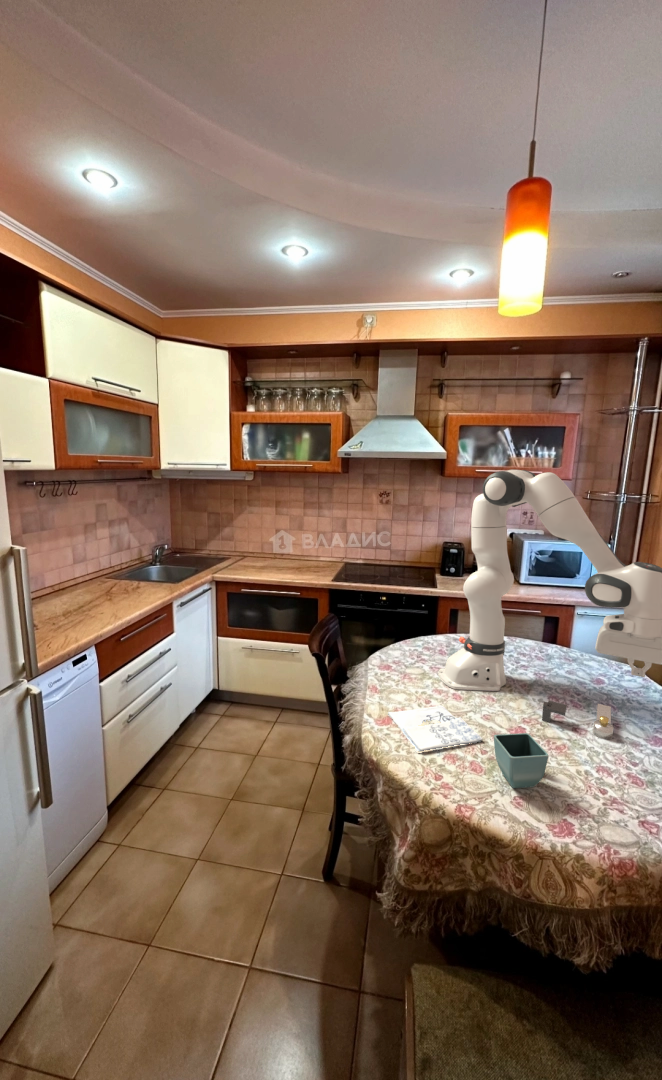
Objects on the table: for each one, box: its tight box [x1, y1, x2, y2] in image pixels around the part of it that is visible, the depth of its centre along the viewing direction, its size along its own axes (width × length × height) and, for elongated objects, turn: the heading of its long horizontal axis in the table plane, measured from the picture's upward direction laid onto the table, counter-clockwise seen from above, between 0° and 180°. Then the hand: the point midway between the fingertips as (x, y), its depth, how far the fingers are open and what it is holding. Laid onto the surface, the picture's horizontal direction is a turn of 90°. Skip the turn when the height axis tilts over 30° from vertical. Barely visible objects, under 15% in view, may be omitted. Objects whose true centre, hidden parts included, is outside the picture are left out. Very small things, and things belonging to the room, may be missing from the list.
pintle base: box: [541, 700, 609, 726], centre depth 120 cm, size 18×19×6 cm
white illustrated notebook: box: [387, 704, 484, 752], centre depth 121 cm, size 19×20×2 cm
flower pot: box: [493, 732, 550, 789], centre depth 99 cm, size 9×9×9 cm
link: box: [592, 703, 614, 740], centre depth 120 cm, size 14×4×3 cm, turn 148°
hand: (637, 675), depth 116 cm, fingers closed
